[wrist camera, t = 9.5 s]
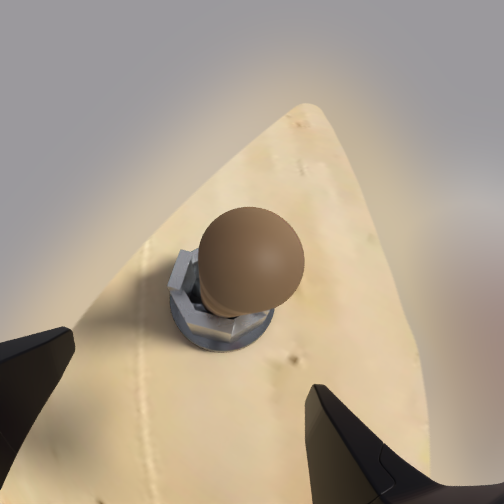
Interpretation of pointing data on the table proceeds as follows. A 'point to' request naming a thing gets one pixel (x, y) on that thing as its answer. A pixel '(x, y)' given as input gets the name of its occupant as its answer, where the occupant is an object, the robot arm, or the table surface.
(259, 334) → the flanged castle nut
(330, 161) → the table surface
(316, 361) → the table surface
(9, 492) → the table surface
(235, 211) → the walnut pin
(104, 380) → the table surface
